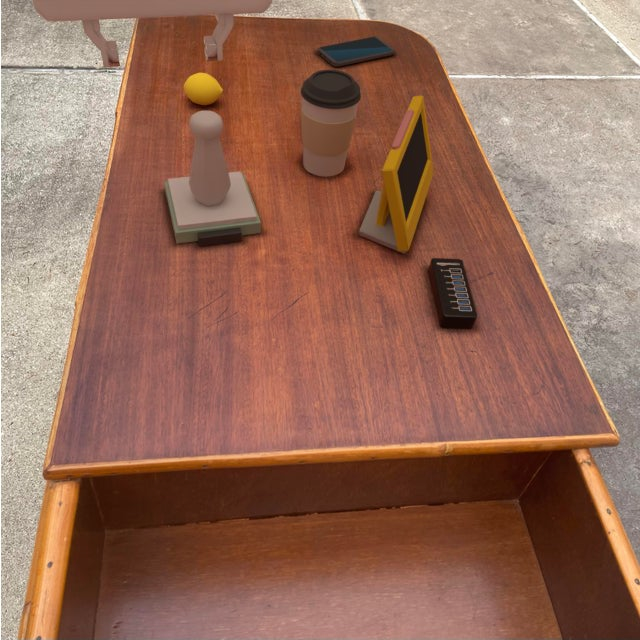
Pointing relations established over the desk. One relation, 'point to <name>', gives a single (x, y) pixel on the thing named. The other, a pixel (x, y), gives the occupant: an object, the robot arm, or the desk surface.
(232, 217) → the scale
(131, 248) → the desk surface
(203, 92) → the lemon
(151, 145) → the desk surface
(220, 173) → the salt shaker
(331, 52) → the smartphone
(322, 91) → the coffee cup
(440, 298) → the multiport hub
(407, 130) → the toy computer monitor
